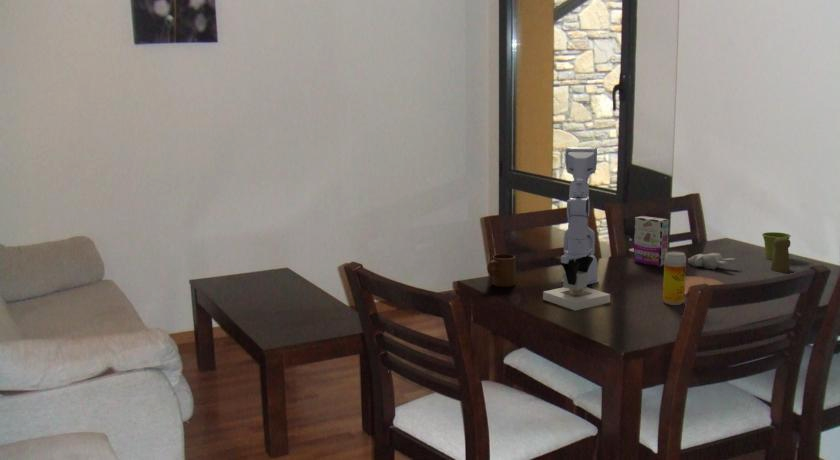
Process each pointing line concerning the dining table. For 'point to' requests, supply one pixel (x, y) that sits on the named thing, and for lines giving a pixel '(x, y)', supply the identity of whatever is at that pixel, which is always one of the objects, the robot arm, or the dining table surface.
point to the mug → (503, 270)
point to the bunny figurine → (709, 260)
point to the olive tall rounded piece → (781, 255)
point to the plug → (576, 282)
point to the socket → (576, 298)
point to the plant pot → (772, 242)
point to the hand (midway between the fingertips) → (576, 282)
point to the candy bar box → (650, 240)
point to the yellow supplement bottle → (674, 278)
